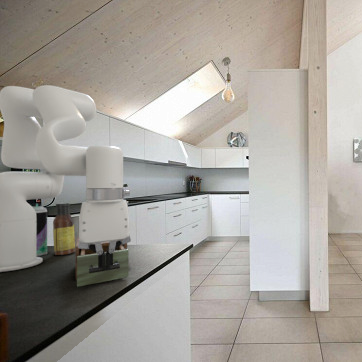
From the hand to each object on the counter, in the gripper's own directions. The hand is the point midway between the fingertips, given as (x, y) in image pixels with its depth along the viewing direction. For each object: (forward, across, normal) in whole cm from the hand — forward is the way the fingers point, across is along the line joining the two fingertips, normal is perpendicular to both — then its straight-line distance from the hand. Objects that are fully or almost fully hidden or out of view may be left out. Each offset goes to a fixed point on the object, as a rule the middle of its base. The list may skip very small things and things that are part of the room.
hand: (105, 268), depth 64 cm
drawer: (+6, 0, -12) cm, 13 cm away
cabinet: (+6, 0, -25) cm, 26 cm away
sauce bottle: (+6, +11, -55) cm, 56 cm away
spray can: (+6, +19, -59) cm, 63 cm away
